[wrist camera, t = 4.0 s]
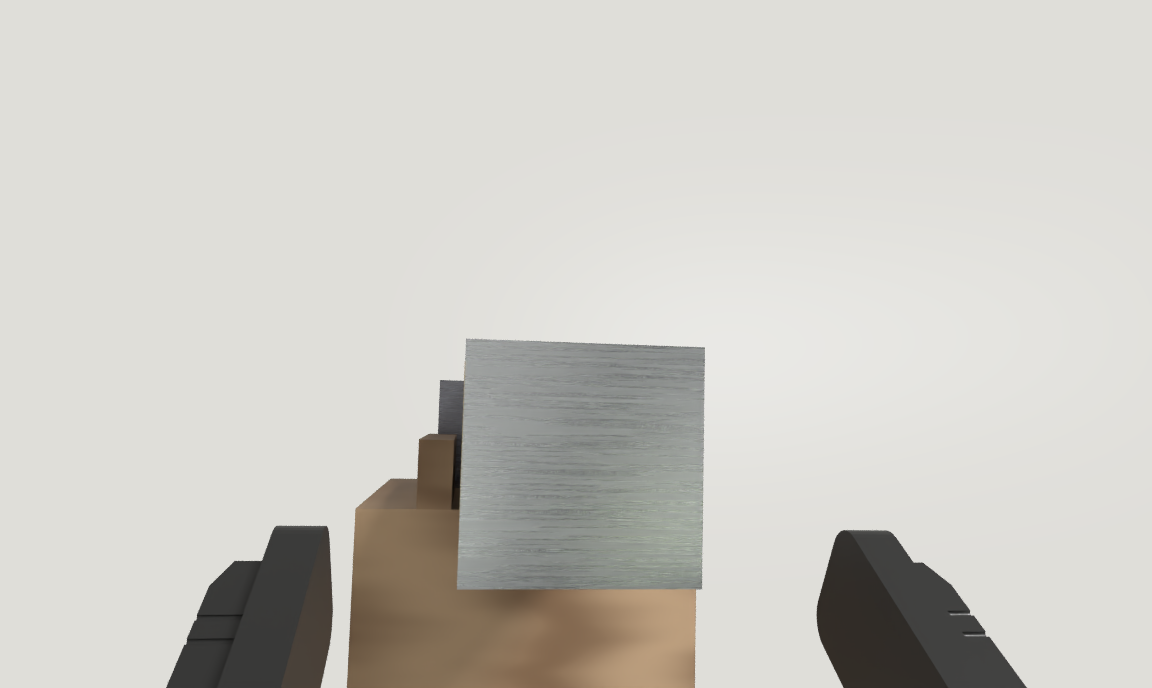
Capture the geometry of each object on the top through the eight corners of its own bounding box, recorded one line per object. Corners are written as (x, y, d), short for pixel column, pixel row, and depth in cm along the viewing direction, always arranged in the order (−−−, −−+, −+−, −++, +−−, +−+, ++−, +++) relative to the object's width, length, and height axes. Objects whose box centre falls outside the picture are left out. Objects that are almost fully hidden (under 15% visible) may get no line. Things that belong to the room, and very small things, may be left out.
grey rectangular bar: (439, 479, 35) (443, 381, 35) (581, 481, 36) (583, 385, 36) (392, 589, 13) (403, 330, 13) (760, 589, 14) (761, 344, 14)
